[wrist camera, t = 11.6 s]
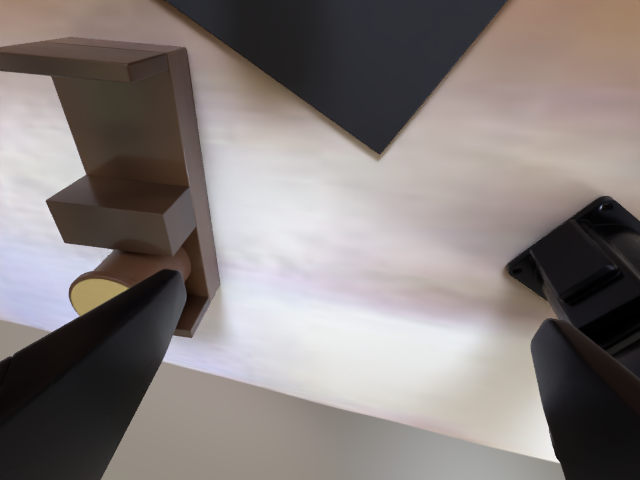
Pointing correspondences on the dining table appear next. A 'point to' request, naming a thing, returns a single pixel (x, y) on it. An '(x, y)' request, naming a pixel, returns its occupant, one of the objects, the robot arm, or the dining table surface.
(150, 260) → the cylinder
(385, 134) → the mat
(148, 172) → the pod rack
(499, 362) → the dining table surface
